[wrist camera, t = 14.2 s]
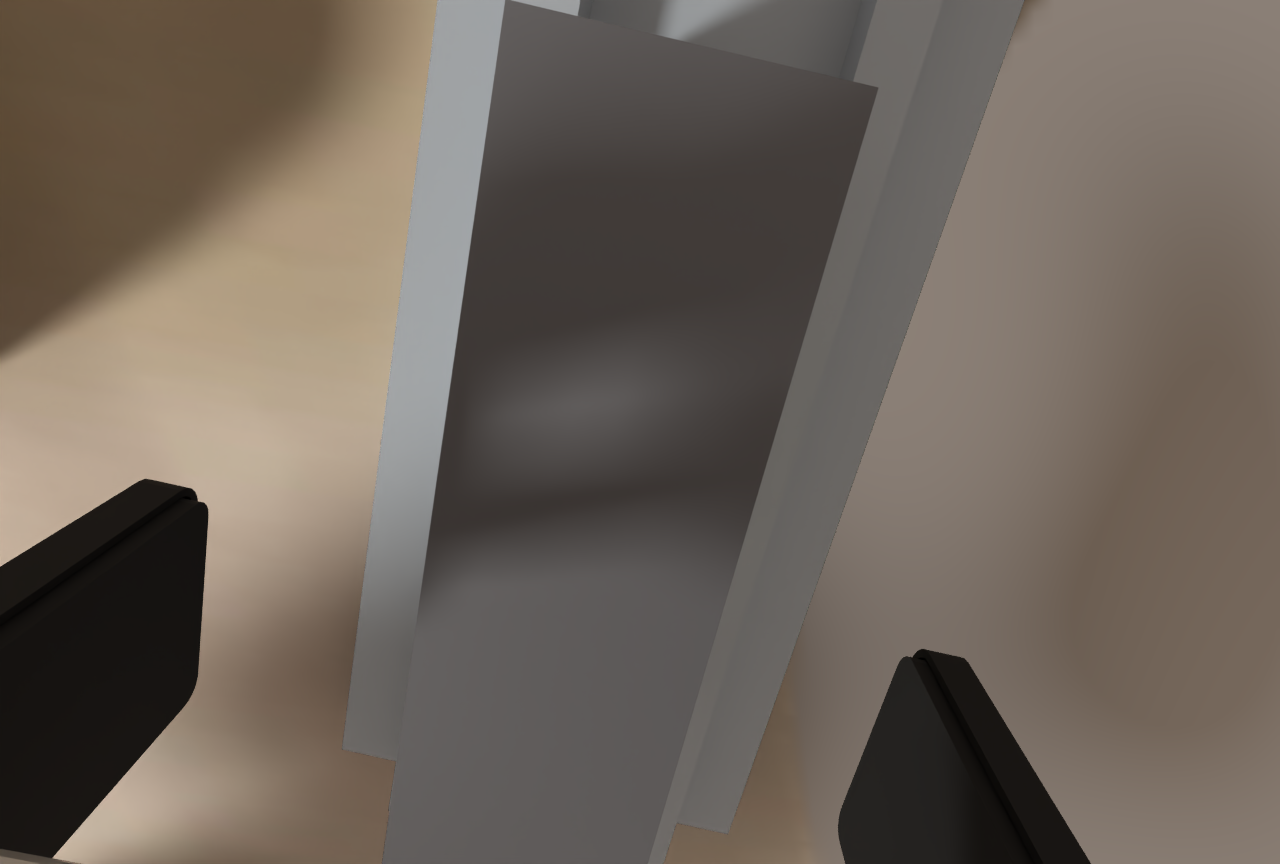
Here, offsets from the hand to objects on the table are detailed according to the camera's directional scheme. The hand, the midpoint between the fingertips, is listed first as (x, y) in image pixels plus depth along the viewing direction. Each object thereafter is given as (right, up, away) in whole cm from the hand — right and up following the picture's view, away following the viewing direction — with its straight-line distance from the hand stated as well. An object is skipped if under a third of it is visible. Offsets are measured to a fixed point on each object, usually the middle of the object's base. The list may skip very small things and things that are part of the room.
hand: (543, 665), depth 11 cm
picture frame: (+1, +4, +9) cm, 10 cm away
